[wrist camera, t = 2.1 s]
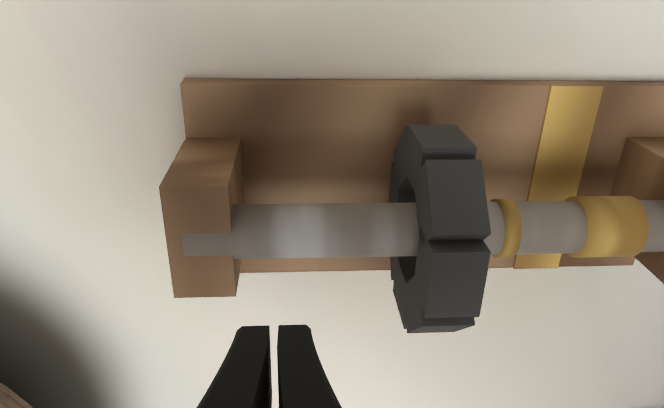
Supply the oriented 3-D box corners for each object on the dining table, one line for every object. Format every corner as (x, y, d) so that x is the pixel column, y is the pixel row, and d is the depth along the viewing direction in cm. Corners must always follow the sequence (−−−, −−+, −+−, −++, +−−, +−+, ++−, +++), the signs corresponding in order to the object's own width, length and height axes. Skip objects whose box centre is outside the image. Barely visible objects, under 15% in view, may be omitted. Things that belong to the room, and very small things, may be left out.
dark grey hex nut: (439, 106, 19) (504, 177, 13) (421, 259, 22) (468, 373, 16) (395, 106, 19) (442, 178, 13) (384, 259, 22) (417, 375, 16)
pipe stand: (677, 81, 21) (796, 124, 16) (622, 255, 24) (706, 334, 19) (184, 78, 19) (147, 124, 14) (203, 263, 23) (179, 349, 18)
